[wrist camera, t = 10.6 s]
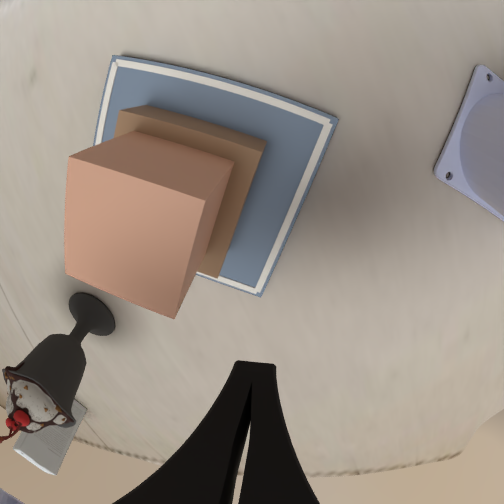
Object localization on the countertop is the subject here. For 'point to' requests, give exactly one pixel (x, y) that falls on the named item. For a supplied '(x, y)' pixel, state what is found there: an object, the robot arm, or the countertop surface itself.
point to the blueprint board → (242, 118)
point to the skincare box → (49, 443)
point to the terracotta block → (141, 217)
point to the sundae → (53, 372)
